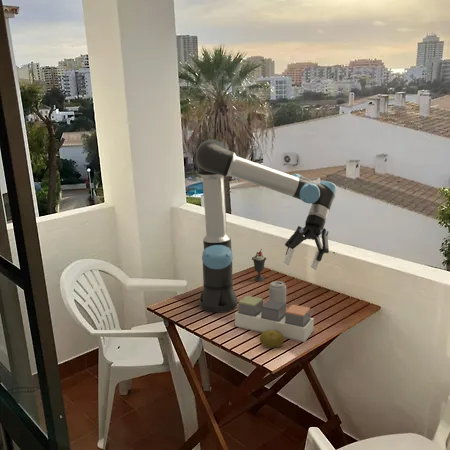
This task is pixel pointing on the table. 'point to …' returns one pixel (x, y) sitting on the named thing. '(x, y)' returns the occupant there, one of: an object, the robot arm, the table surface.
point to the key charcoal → (273, 310)
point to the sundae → (259, 264)
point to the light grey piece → (274, 326)
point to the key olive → (250, 305)
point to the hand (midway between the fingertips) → (299, 266)
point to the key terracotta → (297, 315)
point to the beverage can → (277, 291)
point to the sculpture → (271, 339)
